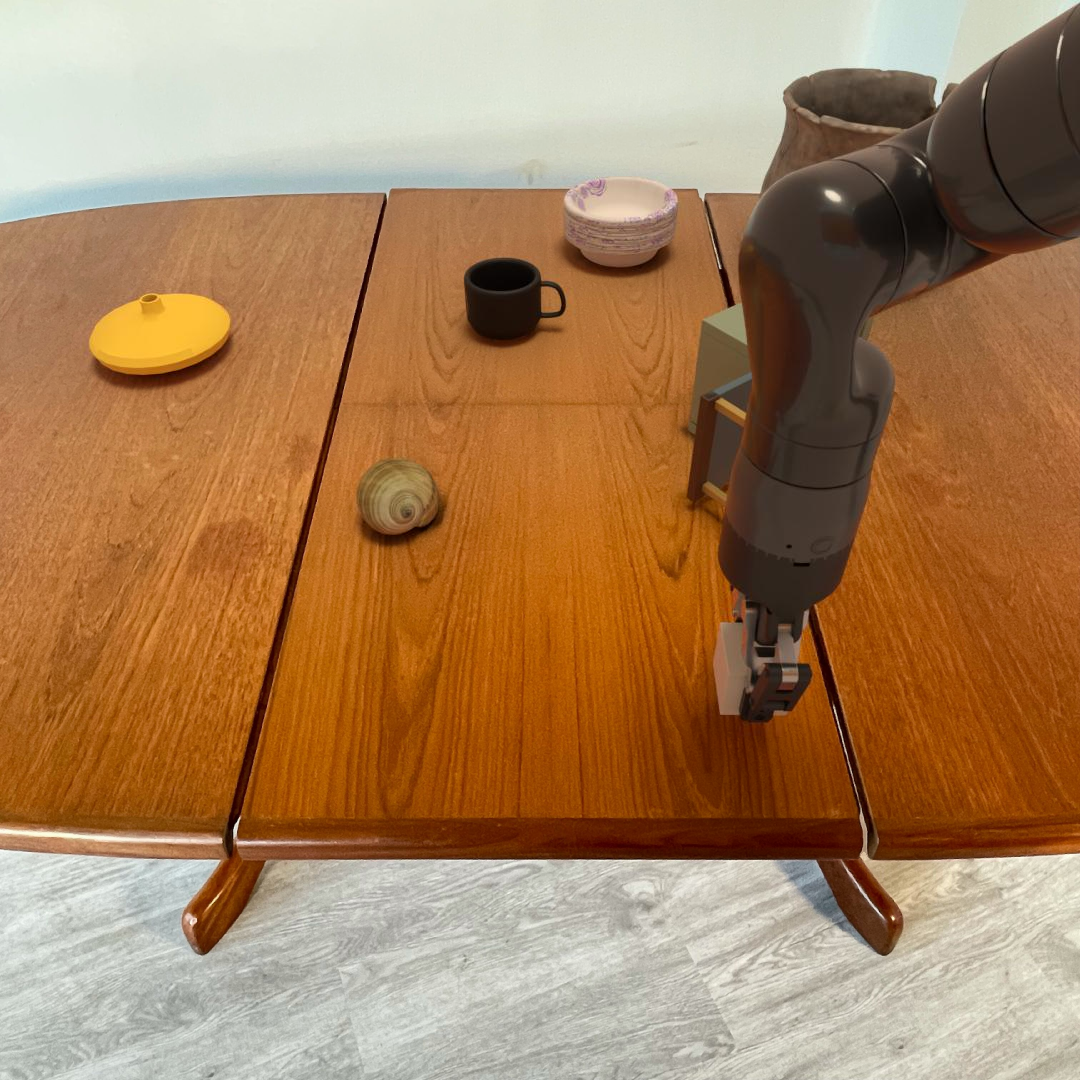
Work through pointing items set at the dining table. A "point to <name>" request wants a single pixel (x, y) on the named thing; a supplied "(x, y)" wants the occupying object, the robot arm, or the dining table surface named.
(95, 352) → the vase
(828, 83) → the pot
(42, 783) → the dining table surface
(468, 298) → the mug
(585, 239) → the paper bowls
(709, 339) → the cabinet
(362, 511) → the seashell
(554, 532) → the dining table surface
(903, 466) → the dining table surface
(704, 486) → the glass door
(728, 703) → the block
